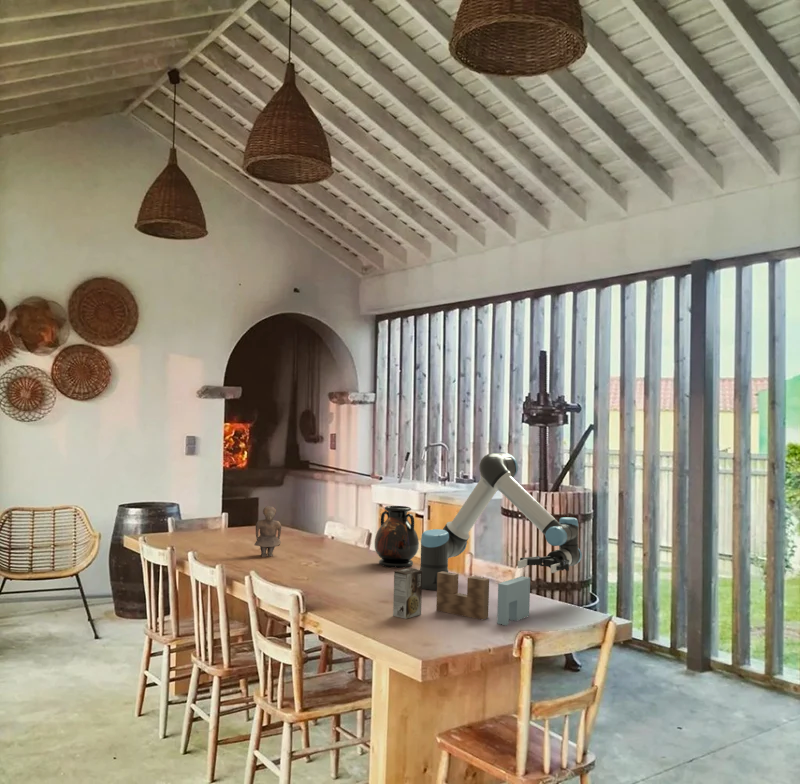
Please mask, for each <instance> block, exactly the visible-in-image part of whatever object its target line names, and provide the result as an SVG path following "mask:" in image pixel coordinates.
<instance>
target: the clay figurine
mask: <svg viewBox="0 0 800 784" xmlns="http://www.w3.org/2000/svg"><path fill="white" fill-rule="evenodd" d="M262 514H263V515H264V519H260V520H257V522H256V523H255V538H256V541H255V542H254V546H257V547H259V548H260V553H261V554H260V555H261V557H262V558H265V557H267V556H268V557H269V558H271V557H270V556H272V557H274V554H273V552H274V550H275V547H279V546H280V545H281V543H282V542H281V540H280V538H281V535H282V533H281V532H282V524H281V522H280V521H279V520H275V516H276V515H277V509H276V508H275V507H274V506H272V505H271V506H270V505H267V506H265V507H264V508H263V510H262Z"/></svg>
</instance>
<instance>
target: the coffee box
mask: <svg viewBox="0 0 800 784" xmlns="http://www.w3.org/2000/svg"><path fill="white" fill-rule="evenodd" d="M393 573H394V574H393V577H394V578H393V602H392V603H393V605H392V606H393V607H392V608H393V609H392V616H393V617H397V618H401V619H403V620H405V619H406V620H407V619H410V618H413V617H417V616H420V615H422V598H423V597H422V595H423V594H422V592H423V589H422V570H420V569H417V568H413V567H406V568H401V569H399V570H394V571H393Z"/></svg>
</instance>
